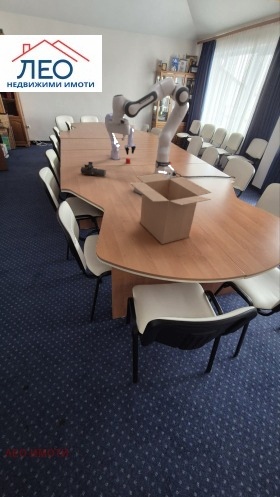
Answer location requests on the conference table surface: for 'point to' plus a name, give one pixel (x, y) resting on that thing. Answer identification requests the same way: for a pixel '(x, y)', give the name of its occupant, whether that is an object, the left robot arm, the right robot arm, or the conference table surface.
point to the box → (168, 205)
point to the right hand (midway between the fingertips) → (118, 139)
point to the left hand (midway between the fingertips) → (130, 154)
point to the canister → (127, 160)
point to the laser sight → (92, 170)
